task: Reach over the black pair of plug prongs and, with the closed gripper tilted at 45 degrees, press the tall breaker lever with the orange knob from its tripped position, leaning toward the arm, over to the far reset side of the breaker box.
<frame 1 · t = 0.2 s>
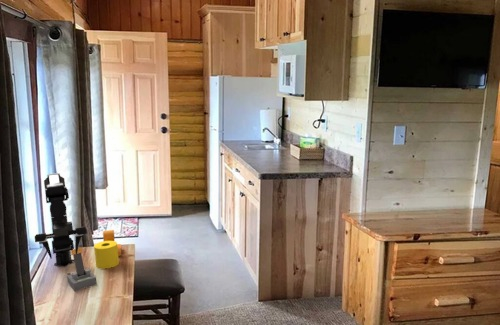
hand: (63, 256, 177), 16 cm above the table, tool pointing down, fingers open, 9 cm apart
bracket: (113, 254, 219), on the table
pair of plug prongs: (76, 275, 195), on the table
tape roll: (107, 264, 207), on the table
breaker box: (82, 283, 188), on the table
breaker lever: (78, 262, 188), point 9 cm above the table, hinge at -20.0°
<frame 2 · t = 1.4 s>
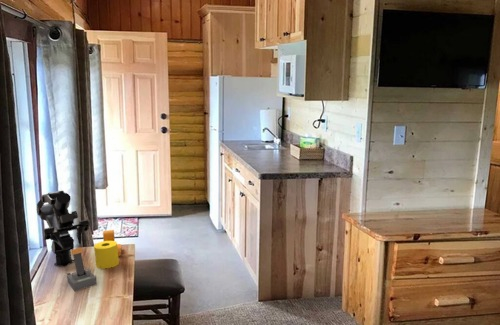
hand: (72, 246, 193), 13 cm above the table, tool tilted 45°, fingers open, 7 cm apart
nothing on the table moved.
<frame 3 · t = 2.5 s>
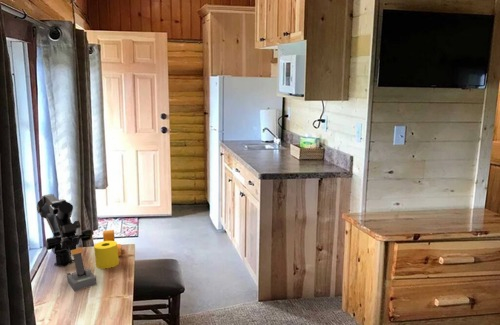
hand: (74, 256, 192), 10 cm above the table, tool tilted 45°, fingers closed
nothing on the table moved.
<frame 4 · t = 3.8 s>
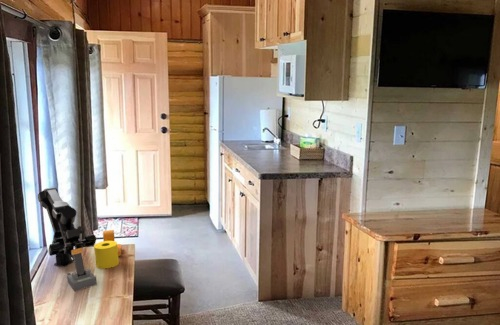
hand: (78, 262, 188), 9 cm above the table, tool tilted 45°, fingers closed, pressing on breaker lever
breaker lever: (78, 262, 188), point 9 cm above the table, hinge at -16.7°, touching gripper
everything else where it was.
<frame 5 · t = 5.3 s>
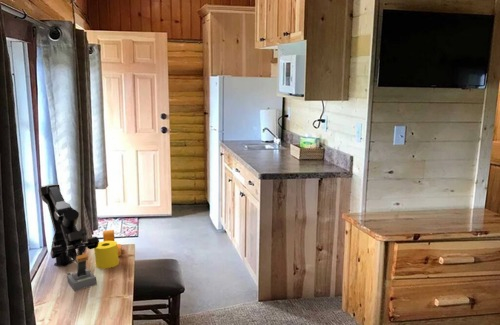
hand: (80, 265, 185), 9 cm above the table, tool tilted 45°, fingers closed
breaker lever: (81, 265, 185), point 9 cm above the table, hinge at 28.1°
everything else where it was.
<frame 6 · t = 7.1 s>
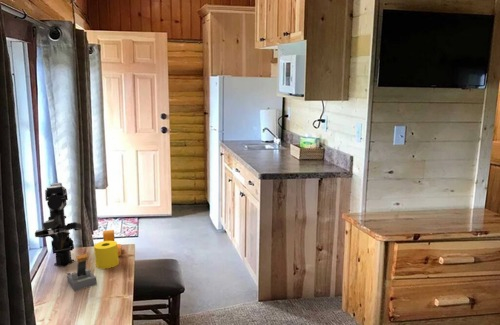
hand: (60, 250, 193), 12 cm above the table, tool tilted 25°, fingers closed
nothing on the table moved.
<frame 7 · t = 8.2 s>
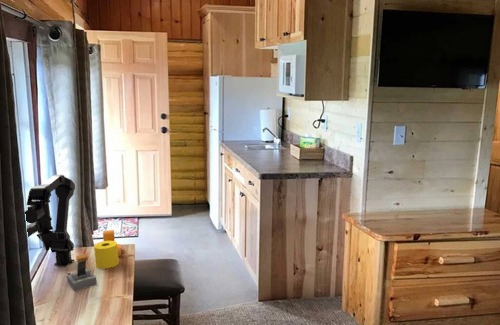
hand: (47, 250, 194), 12 cm above the table, tool pointing down, fingers closed
nothing on the table moved.
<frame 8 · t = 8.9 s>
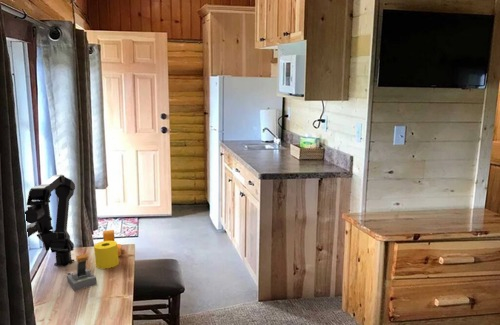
hand: (47, 250, 194), 12 cm above the table, tool pointing down, fingers closed
nothing on the table moved.
at the end: breaker lever at +28° (first picture: -20°); tape roll moved 0.3 cm from its start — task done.
